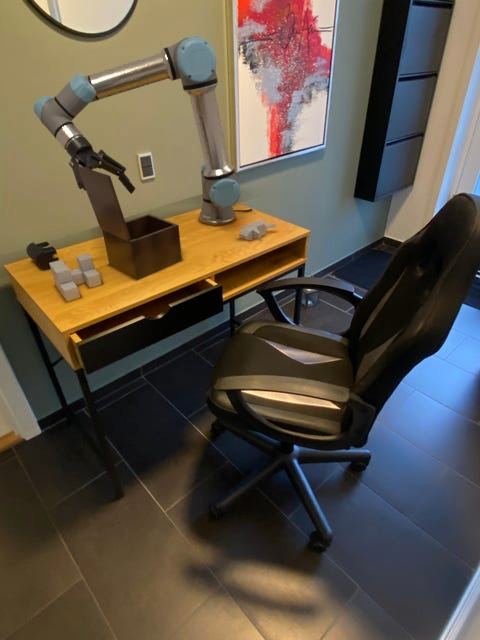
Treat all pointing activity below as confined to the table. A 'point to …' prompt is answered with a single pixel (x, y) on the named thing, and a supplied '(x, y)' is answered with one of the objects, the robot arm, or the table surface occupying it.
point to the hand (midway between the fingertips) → (119, 197)
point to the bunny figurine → (255, 230)
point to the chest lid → (104, 202)
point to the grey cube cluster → (75, 276)
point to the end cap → (42, 254)
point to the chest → (144, 246)
